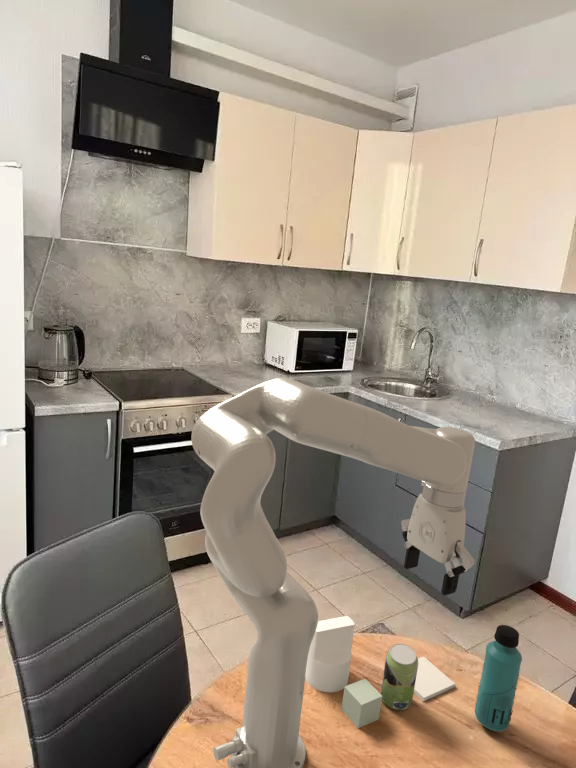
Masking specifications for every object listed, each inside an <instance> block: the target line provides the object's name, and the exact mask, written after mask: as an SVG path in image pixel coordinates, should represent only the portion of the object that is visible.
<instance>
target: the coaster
mask: <svg viewBox="0 0 576 768" xmlns="http://www.w3.org/2000/svg"><path fill="white" fill-rule="evenodd" d="M417 658H418V670H417V675H416V681H415V687H414V693H413V694H414V695H416V696H417V697H418V698H419V699H420V700H421V701H422V702H425V701H427V700H429V699H432V698H433V697H436V696H439V695H440V694H443V693H445V692H448V691H450V690H451V689H455V687H456V683H455V682H454V681H453V680H452V679H451V678H449V677H448V676H447V675H446V674H445V673H444V672H443V671H441V670H440V669H439V668H438V667H436V666H435V664H433V663H432V662H430V661H429V660H428V659H427V658H426V657H424V656H421V657H417Z"/></svg>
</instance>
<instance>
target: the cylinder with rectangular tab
mask: <svg viewBox="0 0 576 768" xmlns="http://www.w3.org/2000/svg"><path fill="white" fill-rule="evenodd" d="M354 631H355V622H354V621H353V619H351V617H349V616H348V615H345V616H339V617H338V616H337V617H333V618H328V619H324V620H318V624H317V628H316V631H315V634H314V637H313V639H312V642H311V646H310V649H309V654H308V659H307V666H306V674H305V682H307V684H308V685H309V686H310V687H312V688H313V689H315V690H317V691H320V692H323V693H337V692H339V691H342V690H344V687H345V686H347V685H348V681H349V678H350V677H349V676H350V666H351V661H352V647H353V639H354Z"/></svg>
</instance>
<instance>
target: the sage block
mask: <svg viewBox="0 0 576 768" xmlns="http://www.w3.org/2000/svg"><path fill="white" fill-rule="evenodd" d="M382 701H383V699H382V695H381V692H379V691H378V690H377V689H376V688H375V687H374V686H373V685H372V684H371V683H370V682H369V681H368V680H367V679H366V678H363V679H360V680H357V681H356V682H355V681H354V682H353V683H349V684H347V685H346V686H345V687H344V688H343V694H342V703H341V711H342V712H343V713H344V714H345V716H346V717H347V718H349V720H350V721H351V723H353V724H354V726H355V727H356V728H357V729H360V728H362V727H364V726H367V725H369V724H372V723H373V722H375V721H378V720H380V714H381V708H382Z"/></svg>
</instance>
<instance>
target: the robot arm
mask: <svg viewBox="0 0 576 768" xmlns="http://www.w3.org/2000/svg"><path fill="white" fill-rule="evenodd" d="M273 431H276V432H277V433H279V434H280V435H282V436H284V437H286V438H287V439H289V440H291V441H293V442H295V443H298V444H301V445H304V446H308V447H311V448H316V449H319V450H322V451H327V452H329V453H333V454H336V455H341V456H344V457H348V458H351V459H354V460H357V461H360V462H363V463H365V464H368V465H371V466H375V467H378V468H381V469H385V470H388V471H392V472H394V473H397V474H400V475H403V476H406V477H409V478H412V479H415V480H418V481H421V483H420V484H421V487H422V486H423V487H422V488H423V489H422V493H419V495H418V497H417V498H416V500H415V503H414V506H413V508H412V513H411V516H410V518H409V519H408V518H407V519H402V520H401V522H400V524H401V529H402V533H401V534H402V538H403V540H404V547H405V548H406V551H405V556H404V557H405V558H404V565H403V568H404V569H406V570H409V569H414V568H417V567H418V565H419V560H420V554H421V552H422V553H423V554H425V555H427V557H429V558H431V559H433V560H434V561H436V562H438V563H440V564H444V568H445V571H446V572H447V573H445V574H444V575H443V580H442V586H441V590H440V591H441V595H442V596H444V597H445V596H448V595H452V594H455V593H456V591H457V588H458V583H459V578H460V575H463V574H465V573H467V572H469V571H470V569H471V568H472V566H473V565H475V562H476V561H475V558H474V557H473V555H471V553H470V552H469V551H468V550H467V549H468V548H466V547H465V545H464V544H465V539H466V538H465V536H466V524H467V523H466V521H467V519H466V517H467V514H466V508H465V506H464V505H465V500H466V495H467V489H468V485H469V484H468V483H469V478H470V473H471V468H472V463H473V456H474V452H475V445H476V439H475V436H474V435H473V434H472V433H470V432H469V431H467V430H464V429H460V428H458V427H457V428H456V427H450V426H449V427H448V426H444V427H443V426H442V427H438V428H429V427H424V426H423V427H422V426H421V427H420V426H416V425H415V426H414V425H409V424H407V423H404V422H402V421H400V420H398V419H396V418H394V417H392V416H390V415H388V414H386V413H383V412H382V411H379V410H376V409H374V408H372V407H369V406H367V405H363V404H361V403H357V402H354V401H351V400H349V399H346V398H343V397H339V396H338V395H335V394H333V393H332V394H331V393H329V392H326V391H324V390H320V389H317V388H315V387H312V386H309V385H307V384H304V383H302V382H299V381H297V380H294V379H293V378H289V377H276V378H272V379H269V380H267V381H264V382H262V383H259V384H257V385H256V386H255V385H254V386H253V387H251V388H249V389H247V390H245V391H243V392H241V393H239V394H238V395H234V396H233V397H231V398H229V399H227V400H225V401H223V402H221V403H219V404H217V405H214V406H213V407H211V408H210V409H208V410H207V411H205V412H204V413H203V414H201V416H200V417H199V418H198V419H197V420H196V422H195V423H194V425H193V428H192V430H191V439H190V441H191V445H192V448H193V451H194V452H195V454H196V455H197V456H198V457H199V458H200V459H201V460H202V461H203V462H204V463H205V464H206V465H208V467H210V468H211V469H212V470H213V474H212V476H211V478H210V480H209V482H208V484H207V485H206V488H205V490H204V493H203V496H202V500H201V504H200V510H199V512H200V513H199V514H200V519H201V522H202V525H203V527H204V529H205V532H206V533H205V537H204V538H205V539H204V540H205V541H204V544H205V550H206V553H207V555H208V557H209V559H210V562H211V563H212V565H213V566H214V568H215V570H216V572H217V573H218V575H219V576H220V578H221V580H222V582H223V583H224V585H225V586H226V588H227V589H228V591H229V593H230V595H231V596H232V598H233V600H234V601H235V602H236V603H237V604H238V606H239V607H240V608H241V609H242V611H243V612H244V613H245V614H246V616H247V617H248V619H249V621H250V622H251V623H252V624H253V626H254V628H255V630H256V633H257V639H256V642H255V643H254V644H253V646H252V647H251V649H250V651H249V655H248V659H247V668H246V682H245V683H246V684H245V693H244V694H245V695H244V705H243V714H242V715H243V716H242V723H241V725H242V726H241V727H237V728H236V729H235V734H234V736H233V737H232V738H231V739H230V741H229V742H227V743H222V744H219V745H217V746H214V748H213V751H212V752H213V756H214V759H215V761H216V762H219V761H220V760H223V759H226V758H227V766H228V768H304V765H305V761H306V754H307V753H306V752H307V751H306V745H305V742H304V740H303V738H302V736H301V735H300V725H301V716H302V711H303V709H302V708H303V700H304V690H305V684H306V683H305V682H306V679H305V674H306V666H307V659H308V654H309V649H310V646H311V642H312V639H313V637H314V634H315V631H316V628H317V624H318V621H319V612H318V607H317V605H316V603H315V600H314V599H313V597H312V596H311V594H310V593H309V592H308V590H307V589H305V587H304V586H303V585H302V584H301V583H300V582H299V581H297V580H296V578H294V576H292V574H290V573H289V572H288V563H287V558H286V554H285V551H284V548H283V547H282V545H281V543H280V541H279V539H278V538H277V537H276V535H275V532H274V531H273V528H272V526H271V525H270V523H269V521H268V519H267V517H266V515H265V513H264V509H263V508H262V504H261V499H262V495H263V493H264V491H265V489H266V487H267V485H268V483H269V482H270V481H271V480H270V479H271V478H272V477H273V473H274V470H275V467H276V458H277V456H276V449H275V446H274V444H273V442H272V440H271V439H270V437H269V436H268V435H267V434H269V433H270V432H273ZM460 559H461V560H462V561H460ZM452 563H453V564H452ZM453 566H454V567H453ZM229 756H230V757H229Z"/></svg>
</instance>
